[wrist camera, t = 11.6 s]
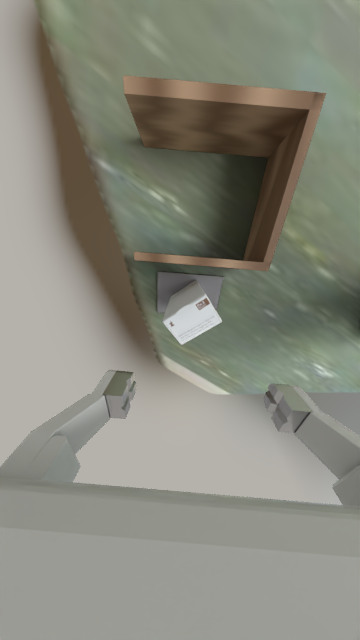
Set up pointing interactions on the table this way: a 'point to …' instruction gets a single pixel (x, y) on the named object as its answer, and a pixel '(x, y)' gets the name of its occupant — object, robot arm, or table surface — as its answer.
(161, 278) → the charcoal mat
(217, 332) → the table surface
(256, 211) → the walnut u-shaped frame
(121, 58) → the table surface
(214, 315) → the skincare box
